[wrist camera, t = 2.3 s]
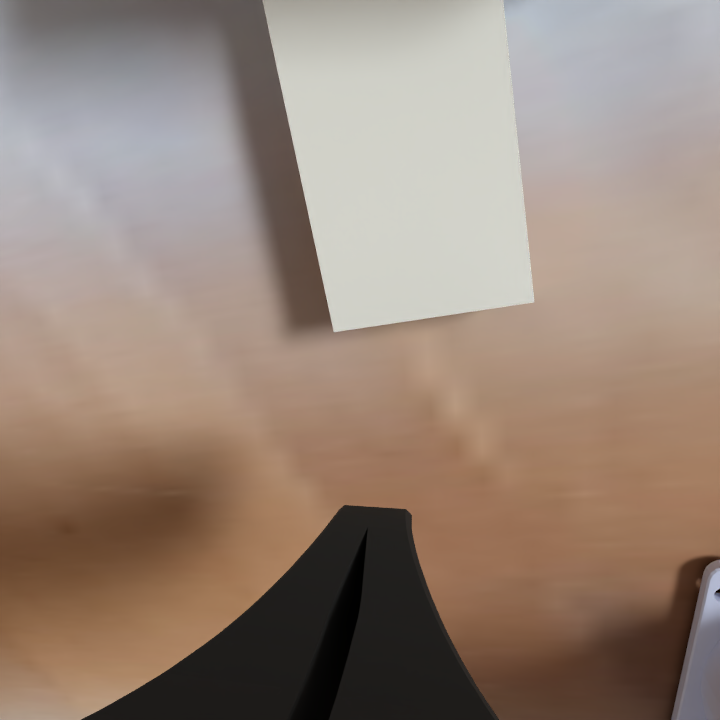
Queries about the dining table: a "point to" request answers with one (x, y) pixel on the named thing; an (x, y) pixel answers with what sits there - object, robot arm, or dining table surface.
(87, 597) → the dining table surface
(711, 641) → the robot arm
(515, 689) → the dining table surface
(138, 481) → the dining table surface
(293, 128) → the tile
